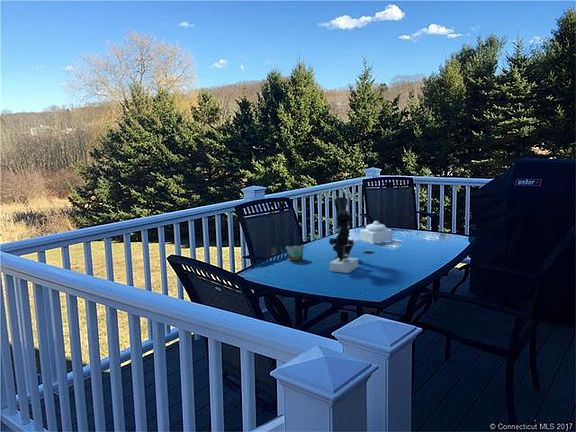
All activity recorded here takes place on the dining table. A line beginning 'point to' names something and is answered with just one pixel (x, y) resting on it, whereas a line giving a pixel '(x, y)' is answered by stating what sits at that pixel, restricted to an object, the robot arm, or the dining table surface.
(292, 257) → the food container
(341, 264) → the camera body
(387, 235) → the butter dish
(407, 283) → the dining table surface
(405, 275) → the dining table surface
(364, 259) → the dining table surface
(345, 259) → the steel lens
